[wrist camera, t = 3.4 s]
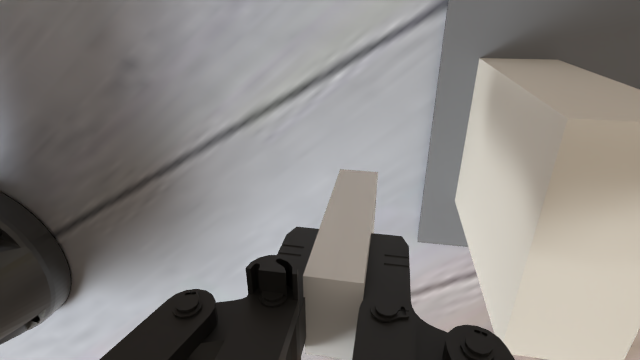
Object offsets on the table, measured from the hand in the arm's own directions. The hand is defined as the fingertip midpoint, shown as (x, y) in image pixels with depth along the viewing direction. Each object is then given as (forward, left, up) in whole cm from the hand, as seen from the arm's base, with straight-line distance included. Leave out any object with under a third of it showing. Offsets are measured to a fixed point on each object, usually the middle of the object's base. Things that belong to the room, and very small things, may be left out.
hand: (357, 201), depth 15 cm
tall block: (+8, 0, -9) cm, 12 cm away
